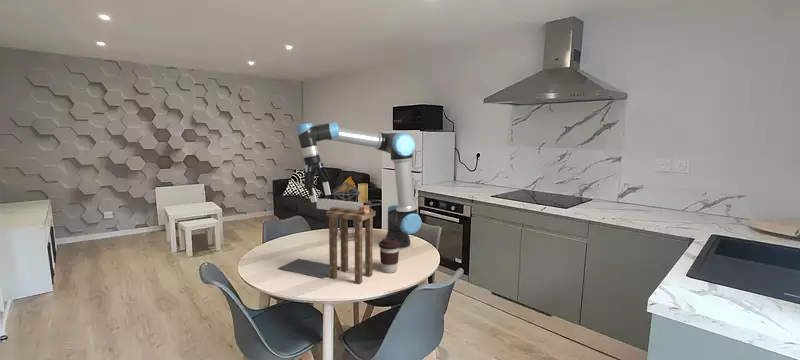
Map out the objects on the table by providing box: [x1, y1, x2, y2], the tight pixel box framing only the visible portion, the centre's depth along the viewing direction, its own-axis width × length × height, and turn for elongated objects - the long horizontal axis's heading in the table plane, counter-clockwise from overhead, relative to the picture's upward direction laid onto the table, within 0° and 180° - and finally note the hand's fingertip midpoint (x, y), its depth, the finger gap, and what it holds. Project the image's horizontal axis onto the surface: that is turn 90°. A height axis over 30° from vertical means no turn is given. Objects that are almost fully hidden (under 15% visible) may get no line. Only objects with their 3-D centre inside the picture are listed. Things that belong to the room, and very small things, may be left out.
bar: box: [316, 198, 364, 211], centre depth 168 cm, size 22×4×4 cm, turn 66°
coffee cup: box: [378, 237, 400, 274], centre depth 177 cm, size 10×10×15 cm
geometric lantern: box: [332, 181, 361, 242], centre depth 226 cm, size 16×16×35 cm
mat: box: [277, 258, 341, 279], centre depth 179 cm, size 26×15×1 cm, turn 66°
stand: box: [325, 204, 377, 285], centre depth 167 cm, size 18×12×33 cm, turn 66°
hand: (321, 198), depth 183 cm, fingers open, 13 cm apart
